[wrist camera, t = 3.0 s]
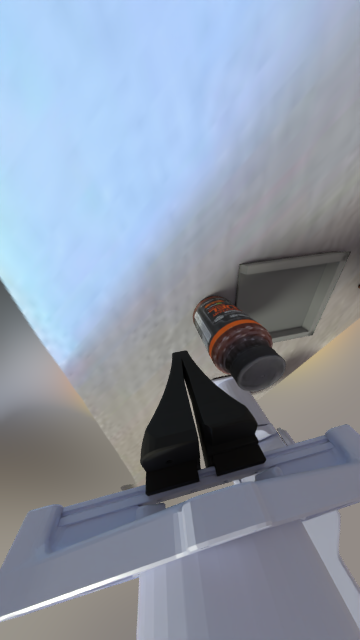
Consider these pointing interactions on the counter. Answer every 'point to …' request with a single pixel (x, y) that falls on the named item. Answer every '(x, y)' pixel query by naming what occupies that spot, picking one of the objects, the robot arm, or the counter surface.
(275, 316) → the tray
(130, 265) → the counter surface
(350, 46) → the counter surface
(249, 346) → the supplement bottle
